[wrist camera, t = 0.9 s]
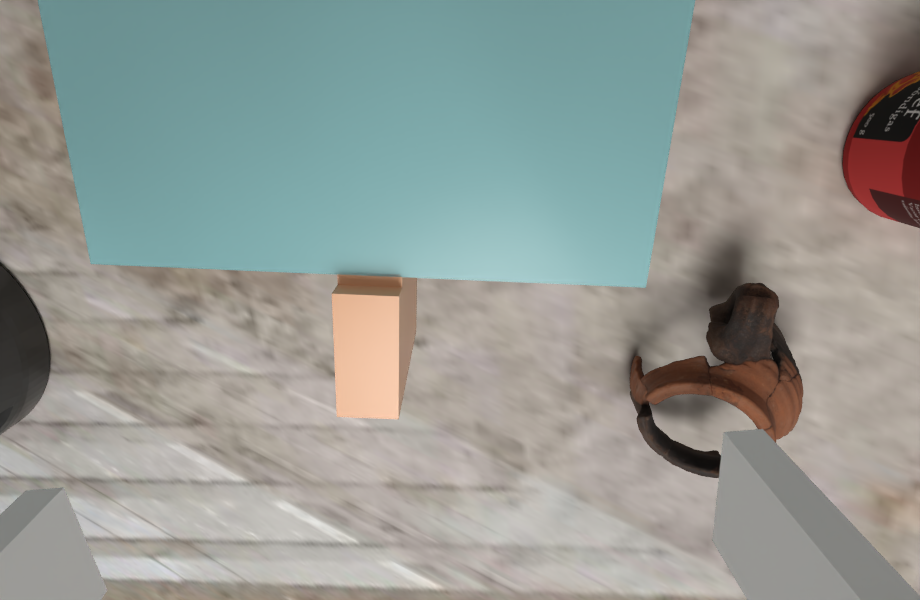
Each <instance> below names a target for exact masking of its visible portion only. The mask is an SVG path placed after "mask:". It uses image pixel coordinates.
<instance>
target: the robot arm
mask: <svg viewBox="0 0 920 600" xmlns="http://www.w3.org/2000/svg"><path fill="white" fill-rule="evenodd" d="M49 367H50V355H49V347H48V342H47V338H46V334H45V331H44V328H43V325H42V323H41V320H40V318H39V316H38V314H37V312H36V310H35V308H34V306H33V305H32V303H31V301H30V300H29V298H28V297H27V295H26V294H25V292H24V291H23V290H22V288H21V287H20V286H19V285H18V283H17V282H16V281H15V280H14V279H13V278H12V277H11V275H10V274H9V273H8V272H7V271H6V270H5V269H4V268H3V267H2V266H0V435H1V434H2V433H3V432H5V431H6V430H8V429H9V428H10V427H12V426H13V425H14V424H16V423H17V422H19V421H20V420H21V419H23V418H24V417H25V416H26V415H28V414H29V413H30V412H31V411H32V409H33V408H34V407H35V406H36V404H37V403H38V402H39V400H40V398H41V397H42V394H43V392H44V390H45V387H46V385H47V381H48V376H49ZM712 541H713V543H714V544H715V546H716V548H717V549H718V551H719V553H720V554H721V556H722V558H723V559H724V561H725V563H726V564H727V566H728V568H729V570H730V571H731V573H732V575H733V576H734V578H735V580H736V581H737V583H738V585H739V586H740V588H741V590H742V591H743V593H744V595H745V596H746V598H747V600H920V596H919V595H918V594H917V592H916V591H915V590H914V589H913V588H912V587H911V586H910V585H909V584H908V583H907V582H906V581H905V580H904V579H903V578H902V577H901V575H900V574H899V573H898V572H897V571H896V570H895V569H894V568H893V567H892V566H891V565H890V564H889V563H888V562H887V561H886V560H885V558H884V557H883V556H882V555H881V554H880V553H879V552H878V551H877V550H876V549H875V548H874V547H873V546H872V545H871V544H870V543H869V541H868V540H867V539H866V538H865V537H864V536H863V535H862V534H861V533H860V532H859V531H858V530H857V529H856V528H855V527H854V526H853V524H852V523H851V522H850V521H849V520H848V519H847V518H846V517H845V516H844V515H843V514H842V513H841V512H840V511H839V510H838V509H837V507H836V506H835V505H834V504H833V503H832V502H831V501H830V500H829V499H828V498H827V497H826V496H825V495H824V494H823V493H822V491H821V490H820V489H819V488H818V487H817V486H816V485H815V484H814V483H813V482H812V481H811V480H810V479H809V478H808V477H807V476H806V474H805V473H804V472H803V471H802V470H801V469H800V468H799V467H798V466H797V465H796V464H795V463H794V462H793V461H792V460H791V459H790V457H789V456H788V455H787V454H786V453H785V452H784V451H783V450H782V449H781V448H780V447H779V446H778V445H777V444H776V443H775V442H774V440H773V439H772V438H771V437H770V436H769V435H768V434H767V433H766V432H765V431H764V430H763V429H756V430H744V431H732V432H724V434H723V444H722V453H721V463H720V472H719V482H718V491H717V501H716V510H715V520H714V529H713V539H712ZM106 591H107V588H106V586H105V584H104V581H103V579H102V577H101V574H100V572H99V570H98V567H97V565H96V562H95V560H94V558H93V555H92V553H91V551H90V548H89V546H88V544H87V541H86V539H85V537H84V534H83V532H82V529H81V527H80V525H79V522H78V520H77V518H76V515H75V513H74V511H73V508H72V506H71V503H70V501H69V499H68V496H67V494H66V492H65V489H64V488H52V489H41V490H29V491H25V492H24V493H23V494H22V495H21V496H20V497H19V498H17V499H16V500H15V501H14V502H13V503H12V504H11V505H10V506H9V507H8V508H7V509H6V510H5V511H4V512H3V513H2V514H1V515H0V600H101V599H102V597H103V596H104V594H105V593H106Z"/></svg>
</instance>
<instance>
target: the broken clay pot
mask: <svg viewBox="0 0 920 600" xmlns="http://www.w3.org/2000/svg"><path fill="white" fill-rule="evenodd" d="M778 307H779V300H778V296H777V295H776V293H775V292H773V291H772V290H770V289H769V288H768V287H766V286H765V285H764V284H762V283H756V284H755V283H746V284H744V285H741V286H738V287H737V288H736V289H735V291H734V292H733V293H732V295H731V296H730V298H729V299H728V300H727V301H726V302H724V303H722V304H718V305H715V306H713V307H711V308H710V309H709V311H710V318H711V322H710V323H709V326H708V328H709V330H708V332H707V335H706V339H707V342H708V344H709V346H710V350H711V352H712V353H713V355H714V356H715V357H716V358H717V359H719V360H721V361H724V362H725V363H723V364H721V365H719V366H711V367H710V366H709V364H708V362H707V359H706V357H705V356H697V357H694V358H689V359H685V360H680V361H675V362H672V363H670V364H668V365H666V366H663V367H659V368H657V369H654V370H652V371H650V372H649V373H647V374H646V375H645V376H644V375H643V372H642V359H641V357H639V356H635V357H634V360H633V363H632V367H631V373H630V389H631V391H630V396H631V399H632V401H633V403H634V406H635V408H636V411H637V413H638V416H637V424H638V427H639V430H640V432H641V433H642V435H643V438H644V440H645V441H646V442H647V444H648V445H649V446H650V447H651V448H652V449H653V450H654V451H655V452H656V453H658V454H659V455H661V456H663V458H664V459H666V460H667V461H669V462H670V463H671V464H673V465H675V466H678V467H680V468H682V469H684V470H686V471H688V472H691V473H695V474H698V475H701V476H705V477H712V478H719V472H720V463H721V455H720V454H719V452H718V451H714V450H713V451H708V452H704V451H699V450H694V449H692V448H690V447H687V446H685V445H683V444H681V443H679V442H676V441H673V440H672V439H670V438H669V437H668V436H667V435H666V434H665V433H664V432H663V431H661V430H660V429H659V428H658V427H657V426H656V425H655V423H654V420H653V417H652V411H651V408H650V406H649V402H650V403H652V404H654V405H656V404H658V403H660V402H661V401H663V400H665V399H667V398H669V397H671V396H674V395H681V394H698V395H711V396H714V397H716V398H719V399H722V400H724V401H726V402H728V403H730V404H732V405H734V406H735V407H737V408H738V409H740V410H741V411H743V412H744V413H745V414H746V415H747V416H748V417H749V418H750V419H752V421H753V422H754V423H755V425H756V427H757V428H758V429H763V430H764V431H765V432H766V433H767V434H768V435H769V436H770V437H771V438H772V439H773V440H774V442H775V443H776V439H780V438H782V437H783V436H786V435H787V434H788V433H789V432H790V431H792V430H793V428H794V426H795V425H796V423H797V421H798V417H799V414H800V412H801V408H802V397H803V385H802V379H801V376H800V374H799V370H798V368H797V366H796V363H795V360H794V359H793V357H792V354H791V352H790V350H789V348H788V346H787V344H786V341H785V339H784V337H783V335H782V333H781V331H780V330H779V328H778V327H777V326H776V325H775V324H774V319H775V315H776V312H777V309H778ZM770 351H771V352H772V357H773V360H772V359H771V358H770V357H771V356H770Z"/></svg>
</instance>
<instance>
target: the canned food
mask: <svg viewBox="0 0 920 600" xmlns="http://www.w3.org/2000/svg"><path fill="white" fill-rule="evenodd" d="M843 171H844V178H845V180H846V183H847V186H848V188H849V190H850V191H851V193H852V194H853V196H854V197H855V198H856V199H857V200H858V201H859V202H860V203H861V204H862V205H863V206H865V207H866V208H867V209H868V210H869V211H871V212H873V213H875V214H876V215H878V216H880V217H884V218H887V219H891V220H894V221H898V222H901V223H904V224H908V225H911V226H915V227H918V228H920V71H919V72H916V73H914V74H911V75H909V76H906V77H904V78H902V79H900V80H898V81H896V82H894V83H892V84H891V85H889V86H887V87H886V88H884V89H883V90H881V91H880V92H879V93H878V94H877V95H876V96H874V97H873V98H872V99H871V100H870V101H869V102H868V104H867V105H866V106H865V107H864V108H863V109H862V110H861V112H860V113H859V115H858V117H857V118H856V120H855V121H854V123H853V125H852V127H851V129H850V132H849V134H848V136H847V139H846V143H845V147H844V151H843Z"/></svg>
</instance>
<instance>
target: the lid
mask: <svg viewBox="0 0 920 600" xmlns="http://www.w3.org/2000/svg"><path fill="white" fill-rule="evenodd" d="M38 4H39V9H40V14H41V19H42V24H43V29H44V34H45V39H46V44H47V49H48V54H49V59H50V64H51V69H52V74H53V79H54V84H55V89H56V94H57V99H58V104H59V109H60V113H61V118H62V123H63V128H64V133H65V138H66V143H67V148H68V153H69V158H70V163H71V168H72V173H73V178H74V183H75V188H76V193H77V198H78V203H79V208H80V213H81V218H82V222H83V227H84V232H85V237H86V242H87V247H88V252H89V257H90V262H91V264H104V265H128V266H151V267H175V268H198V269H222V270H245V271H268V272H292V273H315V274H337V275H338V285H337V287H336V288H335V290H334V291H333V293H332V310H333V334H334V358H335V382H336V407H337V417H354V418H379V419H399V415H400V410H401V405H402V400H403V395H404V390H405V385H406V380H407V375H408V370H409V364H410V359H411V354H412V349H413V344H414V339H415V334H416V308H417V278H433V279H456V280H480V281H503V282H527V283H550V284H574V285H597V286H621V287H644V288H646V283H647V277H648V272H649V266H650V260H651V254H652V248H653V243H654V237H655V231H656V225H657V219H658V214H659V208H660V202H661V196H662V190H663V184H664V179H665V173H666V167H667V161H668V155H669V150H670V144H671V138H672V132H673V126H674V121H675V115H676V109H677V103H678V97H679V91H680V86H681V80H682V74H683V68H684V62H685V57H686V51H687V45H688V39H689V33H690V27H691V22H692V16H693V10H694V4H695V0H38Z"/></svg>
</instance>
